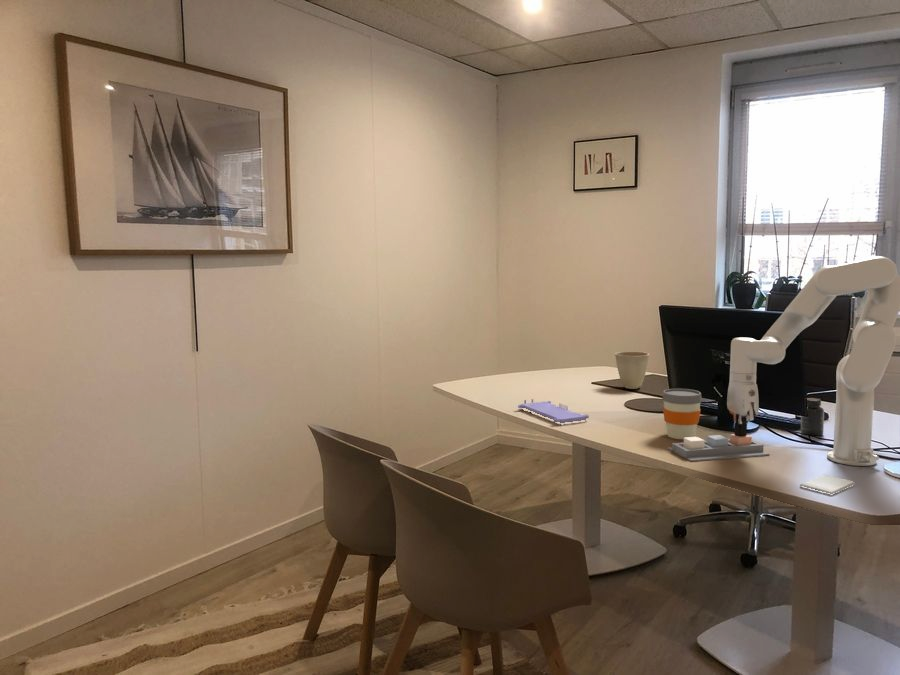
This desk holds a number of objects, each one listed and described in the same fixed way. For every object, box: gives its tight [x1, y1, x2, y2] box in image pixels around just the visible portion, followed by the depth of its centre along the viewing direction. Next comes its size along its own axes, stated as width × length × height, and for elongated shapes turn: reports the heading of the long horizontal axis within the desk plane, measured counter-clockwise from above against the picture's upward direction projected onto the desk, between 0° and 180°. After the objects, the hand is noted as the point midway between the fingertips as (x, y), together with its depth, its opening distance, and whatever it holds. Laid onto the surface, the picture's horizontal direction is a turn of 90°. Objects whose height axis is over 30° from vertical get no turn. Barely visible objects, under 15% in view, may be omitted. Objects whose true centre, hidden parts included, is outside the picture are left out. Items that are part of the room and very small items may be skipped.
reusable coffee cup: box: [662, 388, 702, 440], centre depth 233 cm, size 13×13×15 cm
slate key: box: [706, 434, 729, 447], centre depth 214 cm, size 4×4×3 cm
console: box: [666, 438, 770, 462], centre depth 215 cm, size 14×26×2 cm, turn 101°
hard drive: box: [799, 474, 855, 494], centre depth 183 cm, size 2×8×12 cm
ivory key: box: [683, 436, 706, 449], centre depth 213 cm, size 4×4×3 cm
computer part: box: [517, 398, 590, 423], centre depth 266 cm, size 30×4×15 cm
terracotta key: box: [729, 433, 753, 446], centre depth 216 cm, size 4×4×3 cm
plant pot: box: [614, 351, 650, 387], centre depth 314 cm, size 15×15×16 cm
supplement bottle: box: [800, 397, 825, 437], centre depth 233 cm, size 7×7×12 cm
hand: (740, 435), depth 216 cm, fingers closed
